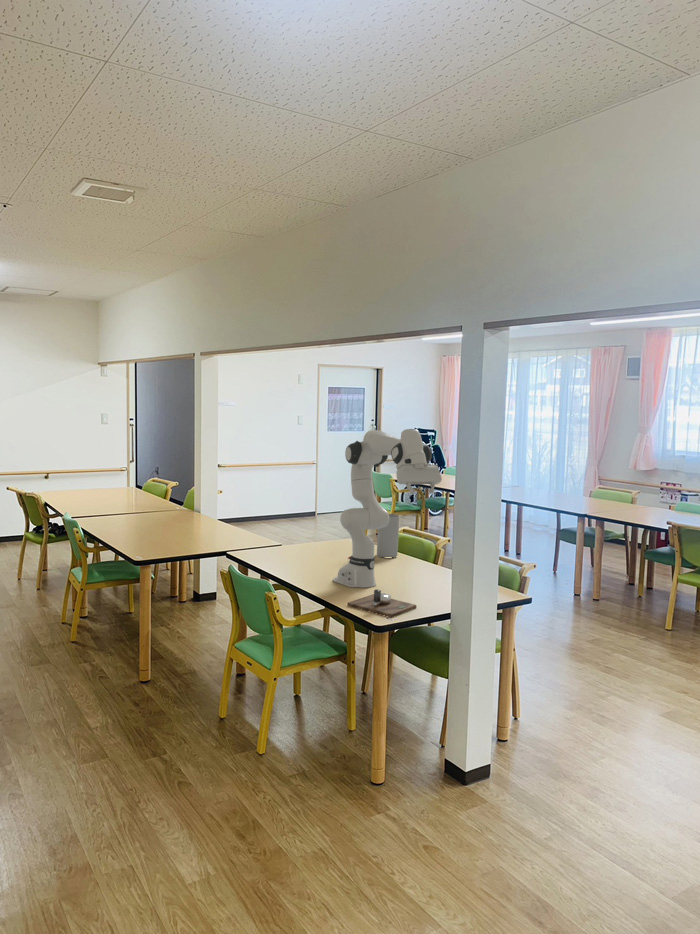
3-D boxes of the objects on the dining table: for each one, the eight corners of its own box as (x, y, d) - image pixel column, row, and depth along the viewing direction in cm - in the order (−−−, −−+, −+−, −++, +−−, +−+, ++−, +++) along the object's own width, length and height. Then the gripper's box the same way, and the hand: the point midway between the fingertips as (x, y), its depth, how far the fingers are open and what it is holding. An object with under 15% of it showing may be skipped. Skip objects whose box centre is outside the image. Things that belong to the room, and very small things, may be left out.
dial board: (347, 605, 311) (347, 602, 310) (373, 597, 326) (373, 593, 326) (391, 617, 296) (391, 614, 296) (416, 608, 312) (416, 604, 312)
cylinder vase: (373, 554, 419) (375, 513, 417) (391, 553, 424) (393, 513, 422) (382, 559, 408) (384, 517, 405) (401, 558, 413) (403, 516, 411)
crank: (378, 598, 318) (379, 583, 317) (392, 601, 315) (393, 585, 314) (367, 606, 305) (368, 590, 304) (382, 608, 302) (383, 592, 302)
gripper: (433, 466, 305) (439, 495, 300) (392, 466, 297) (398, 496, 292) (440, 460, 300) (447, 490, 295) (399, 460, 291) (404, 490, 286)
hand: (422, 493), depth 293 cm, fingers open, 8 cm apart
